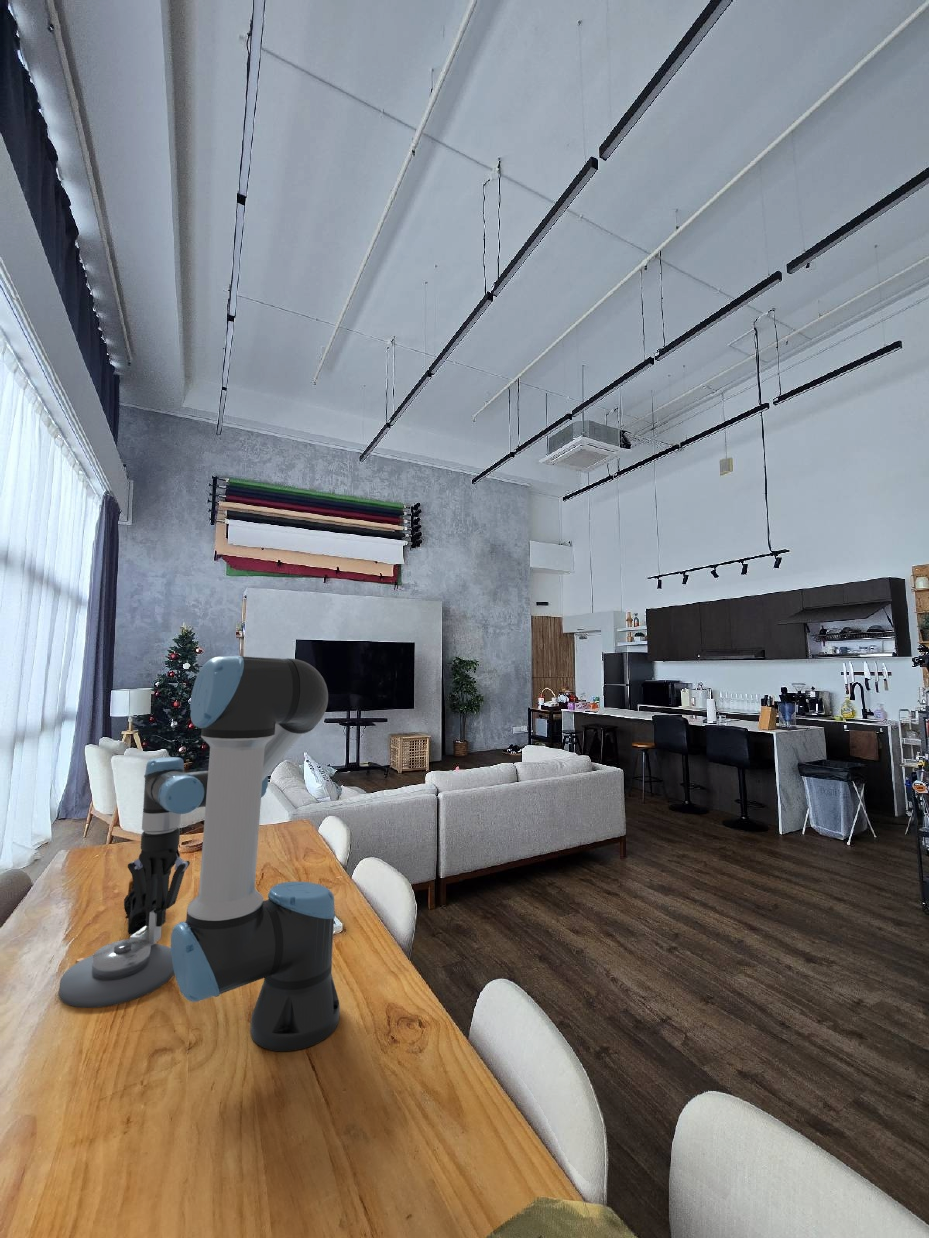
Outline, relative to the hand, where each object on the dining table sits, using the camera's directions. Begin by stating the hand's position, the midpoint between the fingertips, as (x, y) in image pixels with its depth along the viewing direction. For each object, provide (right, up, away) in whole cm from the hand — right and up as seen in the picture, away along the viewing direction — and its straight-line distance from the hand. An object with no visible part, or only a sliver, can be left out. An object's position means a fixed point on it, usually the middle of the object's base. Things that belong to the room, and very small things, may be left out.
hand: (154, 941), depth 119 cm
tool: (-13, -5, +17) cm, 22 cm away
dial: (-2, 0, -6) cm, 6 cm away
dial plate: (-2, -3, -7) cm, 8 cm away
